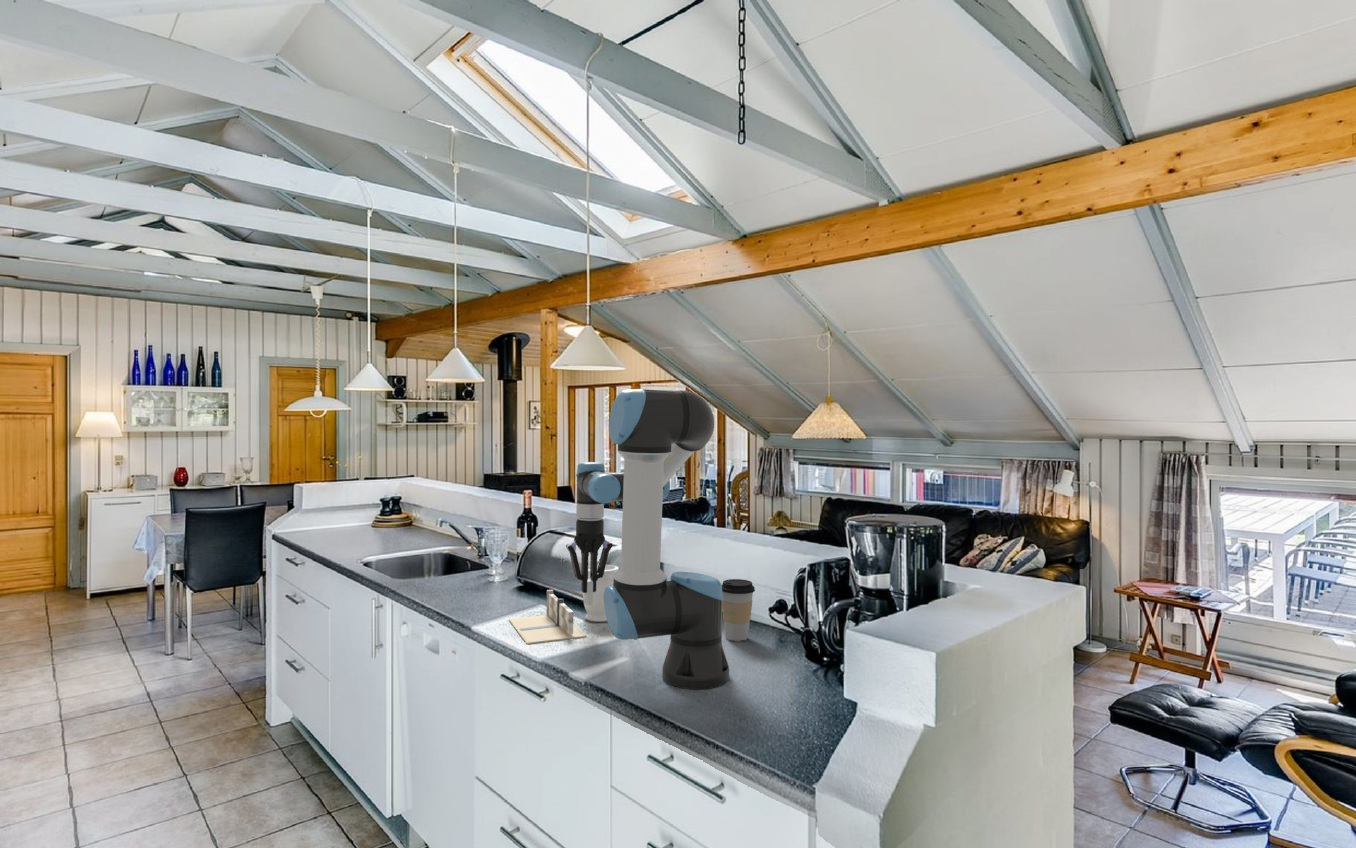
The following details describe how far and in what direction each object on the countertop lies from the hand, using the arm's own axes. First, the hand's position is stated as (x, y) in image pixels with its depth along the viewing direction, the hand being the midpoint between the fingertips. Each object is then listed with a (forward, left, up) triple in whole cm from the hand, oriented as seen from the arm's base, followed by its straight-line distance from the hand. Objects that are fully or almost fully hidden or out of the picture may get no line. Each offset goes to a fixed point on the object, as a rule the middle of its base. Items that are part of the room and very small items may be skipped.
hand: (588, 603), depth 192 cm
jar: (+11, -7, -8) cm, 15 cm away
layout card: (+7, +10, -8) cm, 14 cm away
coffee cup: (-21, -35, -8) cm, 42 cm away
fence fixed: (+13, +6, -7) cm, 16 cm away
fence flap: (+2, +6, -7) cm, 9 cm away
